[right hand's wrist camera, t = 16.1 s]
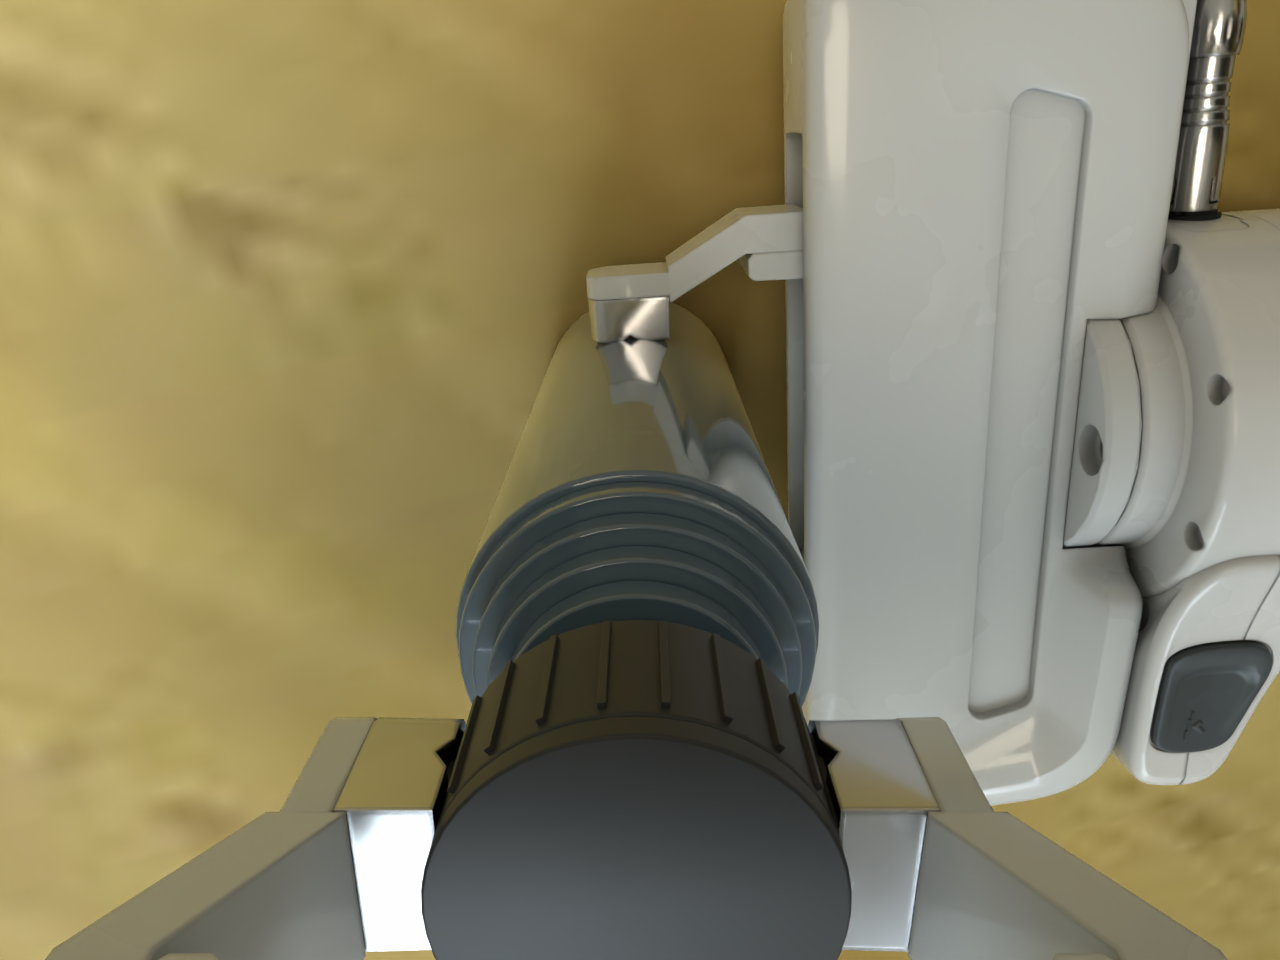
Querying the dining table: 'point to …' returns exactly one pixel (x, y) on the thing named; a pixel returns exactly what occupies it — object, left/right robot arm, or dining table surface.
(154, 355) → the dining table surface
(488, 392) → the dining table surface
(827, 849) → the cap
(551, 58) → the dining table surface
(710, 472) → the bottle
